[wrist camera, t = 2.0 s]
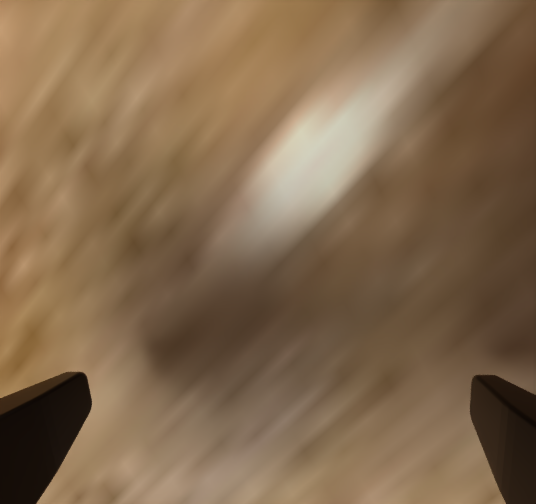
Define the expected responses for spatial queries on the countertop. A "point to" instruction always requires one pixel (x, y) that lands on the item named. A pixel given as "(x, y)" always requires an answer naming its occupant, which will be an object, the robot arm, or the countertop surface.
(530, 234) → the countertop surface
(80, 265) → the countertop surface
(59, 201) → the countertop surface
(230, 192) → the countertop surface
